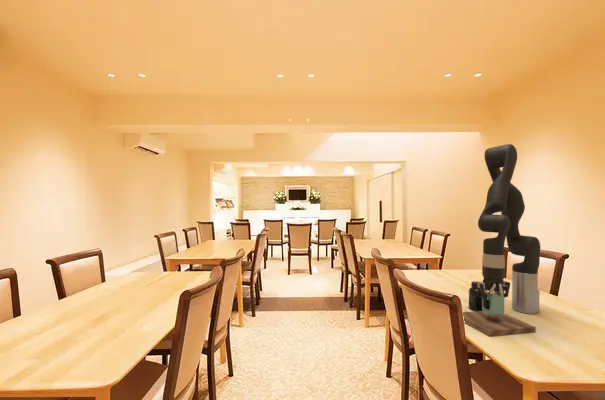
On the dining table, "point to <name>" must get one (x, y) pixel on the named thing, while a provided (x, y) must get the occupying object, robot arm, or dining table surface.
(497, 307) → the green cube with circle
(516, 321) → the brown wooden board
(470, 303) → the supplement bottle
